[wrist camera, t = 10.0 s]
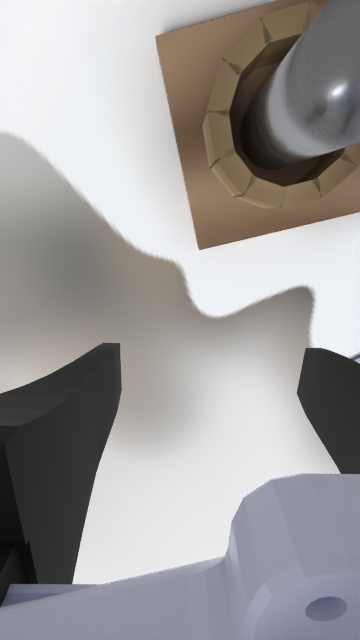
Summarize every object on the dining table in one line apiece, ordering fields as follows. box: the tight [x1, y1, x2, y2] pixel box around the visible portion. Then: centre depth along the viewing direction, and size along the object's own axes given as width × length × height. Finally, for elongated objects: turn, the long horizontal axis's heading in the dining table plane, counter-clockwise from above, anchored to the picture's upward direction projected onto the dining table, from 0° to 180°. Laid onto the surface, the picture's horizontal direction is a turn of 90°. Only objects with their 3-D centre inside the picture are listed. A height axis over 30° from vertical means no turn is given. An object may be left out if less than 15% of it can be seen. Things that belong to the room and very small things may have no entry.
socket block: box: [156, 0, 360, 250], centre depth 16 cm, size 11×11×4 cm
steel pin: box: [240, 0, 360, 170], centre depth 13 cm, size 4×4×9 cm
